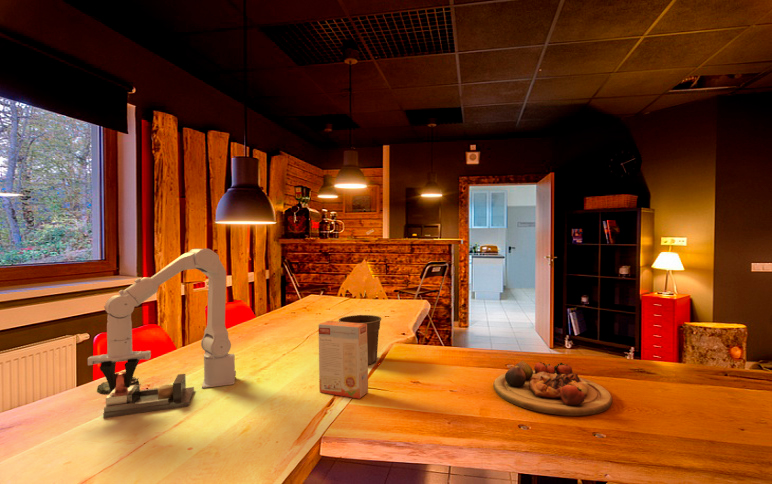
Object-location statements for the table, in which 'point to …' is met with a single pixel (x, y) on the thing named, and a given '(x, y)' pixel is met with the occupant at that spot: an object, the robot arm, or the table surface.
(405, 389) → the table surface
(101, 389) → the log
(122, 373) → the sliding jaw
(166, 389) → the tan rounded lump
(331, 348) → the cracker box
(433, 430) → the table surface
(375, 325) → the plant pot
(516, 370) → the wooden plate with food
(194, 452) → the table surface
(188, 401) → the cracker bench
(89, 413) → the table surface
